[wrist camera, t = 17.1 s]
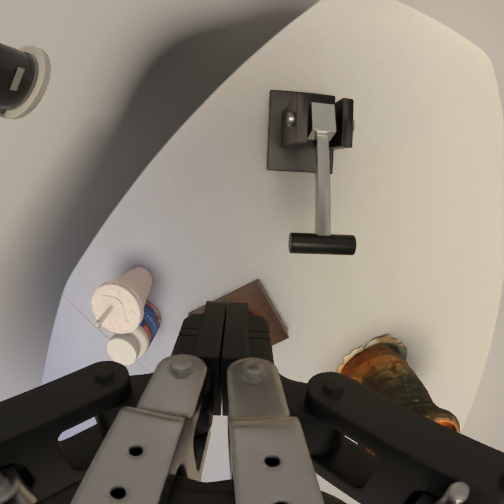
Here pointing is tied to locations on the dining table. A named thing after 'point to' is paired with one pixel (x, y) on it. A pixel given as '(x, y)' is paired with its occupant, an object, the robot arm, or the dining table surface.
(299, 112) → the switch bracket
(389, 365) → the vessel
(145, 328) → the pill bottle
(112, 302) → the smoothie
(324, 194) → the switch
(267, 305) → the button block
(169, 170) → the dining table surface
